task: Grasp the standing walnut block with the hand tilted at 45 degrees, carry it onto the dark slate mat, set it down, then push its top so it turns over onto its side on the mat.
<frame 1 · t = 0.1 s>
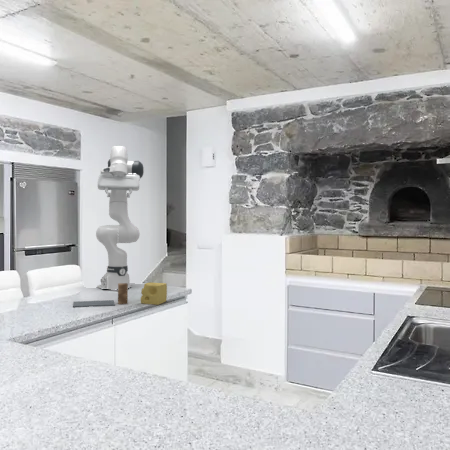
hand: (118, 196, 226), 54 cm above the worktop, tool tilted 30°, fingers open, 8 cm apart
slate mat: (94, 304, 233), on the worktop
walnut block: (122, 303, 236), on the worktop
cheese: (154, 303, 240), on the worktop
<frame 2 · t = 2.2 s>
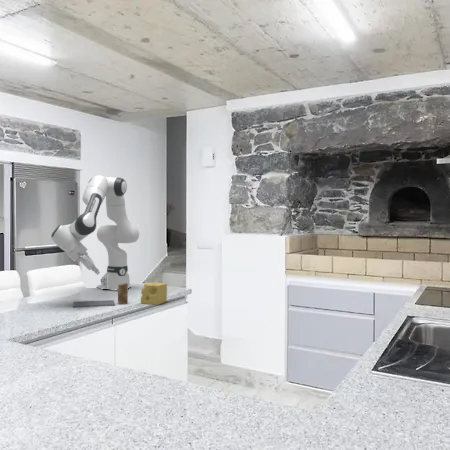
hand: (98, 272, 232), 16 cm above the worktop, tool tilted 45°, fingers open, 8 cm apart
nothing on the worktop moved.
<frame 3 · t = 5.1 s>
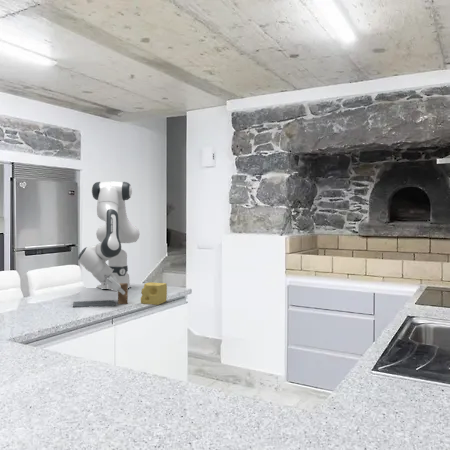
hand: (124, 292, 237), 5 cm above the worktop, tool tilted 45°, fingers closed on walnut block, 4 cm apart
walnut block: (122, 303, 236), on the worktop, touching gripper
everything else where it was.
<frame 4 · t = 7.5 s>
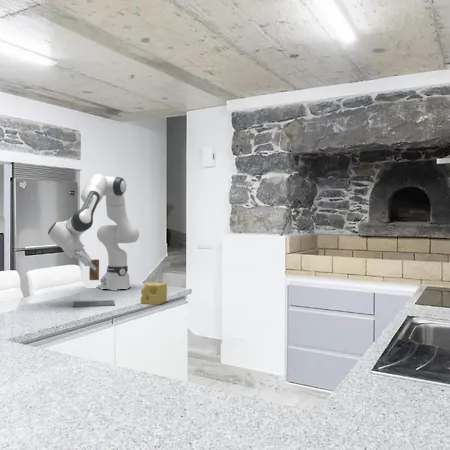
hand: (95, 268, 232), 18 cm above the worktop, tool tilted 45°, fingers closed on walnut block, 4 cm apart
walnut block: (94, 279, 232), point 13 cm above the worktop, touching gripper
everything else where it was.
when the fingers open (7 cm above the worktop, at t = 10.2 s): walnut block drops 1 cm, resting on slate mat.
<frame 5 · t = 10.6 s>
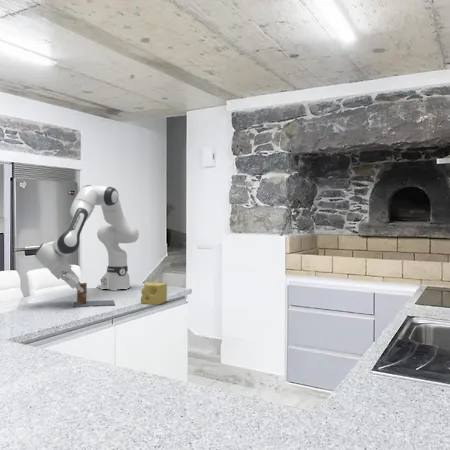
hand: (83, 289, 231), 7 cm above the worktop, tool tilted 45°, fingers open, 8 cm apart
walnut block: (81, 303, 231), point 1 cm above the worktop, touching slate mat
everything else where it was.
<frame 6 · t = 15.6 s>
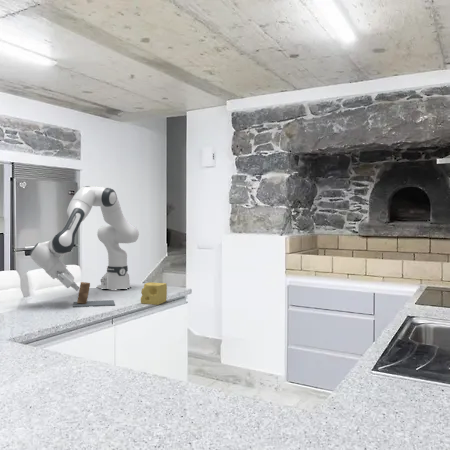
hand: (78, 289, 231), 8 cm above the worktop, tool tilted 45°, fingers closed, pressing on walnut block
walnut block: (81, 302, 231), point 1 cm above the worktop, tilted 9°, touching gripper, slate mat
everything else where it was.
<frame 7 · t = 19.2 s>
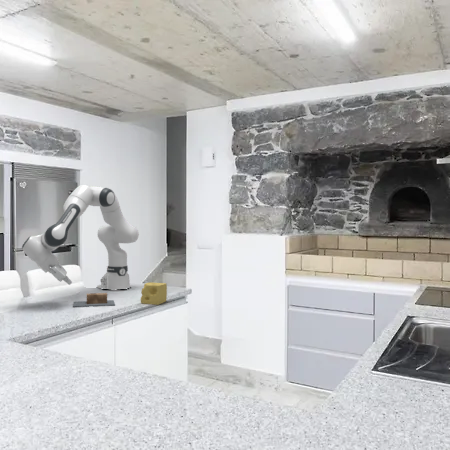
hand: (70, 283, 229), 11 cm above the worktop, tool tilted 45°, fingers closed
walnut block: (86, 298, 232), point 3 cm above the worktop, tilted 90°, touching slate mat
everything else where it was.
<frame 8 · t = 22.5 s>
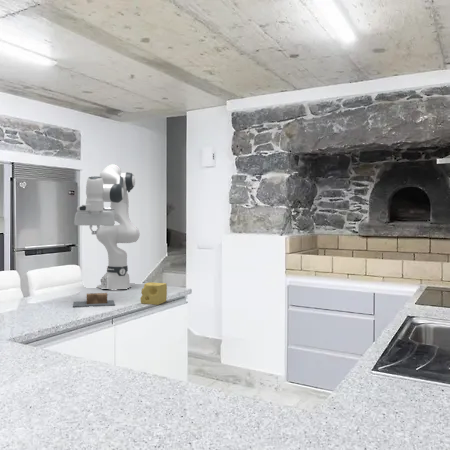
hand: (94, 234, 238), 35 cm above the worktop, tool pointing down, fingers closed
nothing on the worktop moved.
at the end: walnut block tilted 90°; walnut block inside the target area on the slate mat (3.7 cm from its centre), point 2.8 cm above the slate mat's base; the gripper is holding nothing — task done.
